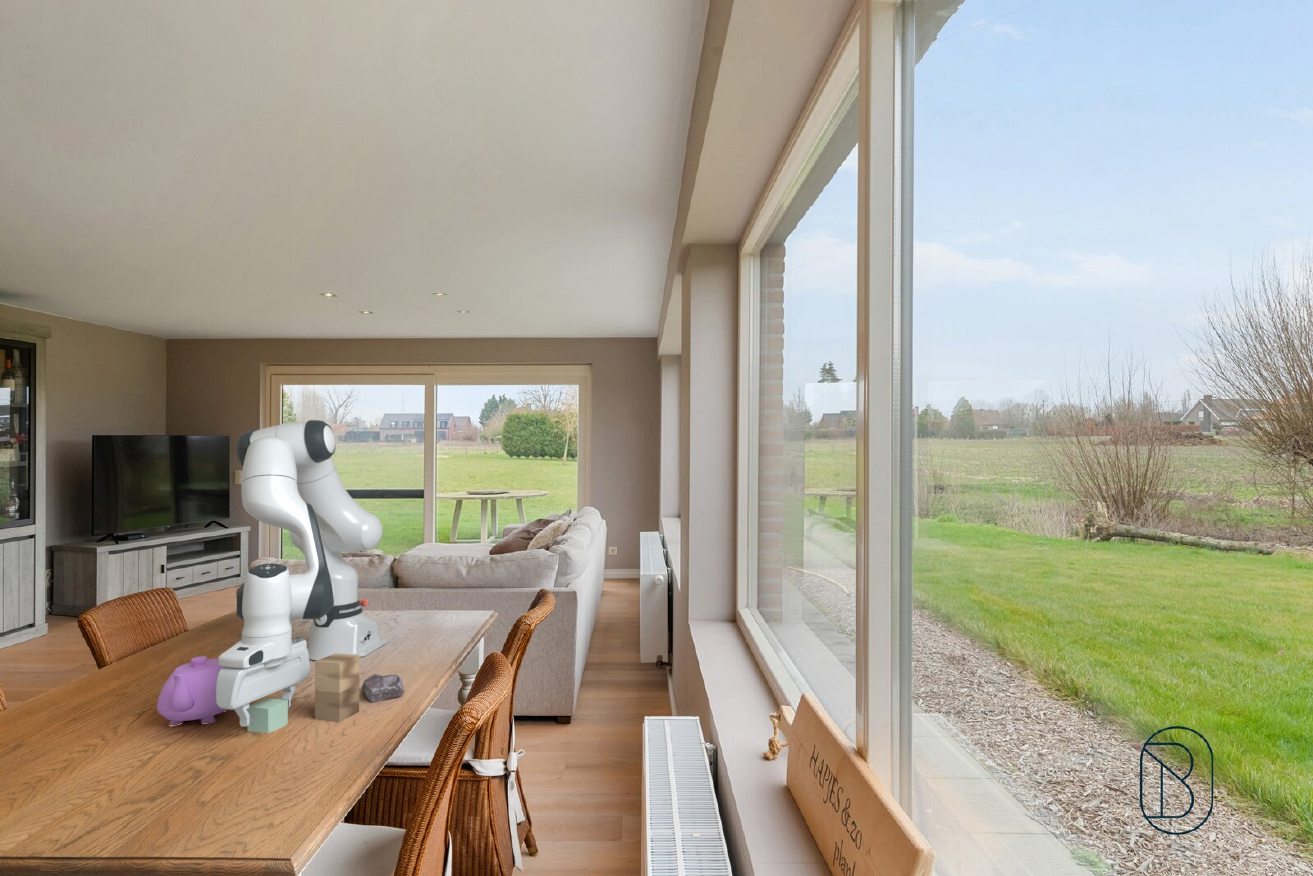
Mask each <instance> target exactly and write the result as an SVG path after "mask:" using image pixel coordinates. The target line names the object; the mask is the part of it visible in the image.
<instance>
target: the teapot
mask: <svg viewBox="0 0 1313 876" xmlns="http://www.w3.org/2000/svg"><path fill="white" fill-rule="evenodd" d="M190 661H191V662H188V663H185V664H182V665H179V666H177V667H176V668H174V670H173V671H172V672H171V673H170V675H169V677H168V679H166V682H165V683H164V685H163V686H162V688H161V689H160V693H159V695H158V699H157V704H156V710H157V712H158V713H159V715H161V716H162V717H163V718H165V719H166V720H169V721H170V722H169V723H168V724H169V725H177V724H180V723H182V724H183V723H184V722H185V721H186V722H187V721H194V720H195V721H196V720H200V724H201V723H211V722H214V721H215V722H216V719H215V716H216V715H219V714H223V713H222V712H224V711H226V710H228V709H222V708H220V707H219V706H218V705H217V703H216V685H217V677H218V673H219V671H220V670H221V669H222V668H223V667H224V666H219V664H218V659H217V658H209V659H208V656H202V655H201V656H195V657H192V658H191V659H190ZM226 712H227V711H226ZM224 713H225V712H224ZM215 722H214V723H215ZM211 724H212V723H211Z"/></svg>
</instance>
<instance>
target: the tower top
mask: <svg viewBox="0 0 1313 876" xmlns="http://www.w3.org/2000/svg"><path fill="white" fill-rule="evenodd" d="M314 661H315V662H314V692H315V691H325V692H335V693H341V692H343V691H345V690H347V689H349V688H351V687H353V686H355V685H357V684H359V685H360V657H359V655H351V654H339V653H335V654H332V655H330V656H327V657H325V658H322V659H320V660H314Z"/></svg>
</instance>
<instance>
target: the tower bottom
mask: <svg viewBox="0 0 1313 876" xmlns="http://www.w3.org/2000/svg"><path fill="white" fill-rule="evenodd" d="M358 713H360V683H359V684H357V685H355V686H353V687H351V688H349V689H347V690H345V691H343V692H341V693H335V692H325V691H315V690H314V720H315V719H319V720H318V721H322V720H325V721H324V722H331V721H332V722H333V723H342V722H343V721H345V720H347V719H348V718H351V717H353V716H354V715H355V714H358ZM344 719H345V720H344ZM332 722H331V723H332Z"/></svg>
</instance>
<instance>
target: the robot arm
mask: <svg viewBox="0 0 1313 876" xmlns="http://www.w3.org/2000/svg"><path fill="white" fill-rule="evenodd" d="M335 451H336V436H335V434H334V430H333V429H332V427H331V426H330V425H329V424H328V423H327V422H325V421H324V420H317V419H313V420H312V419H310V420H307V421H292V422H285V423H281V424H277V425H272V426H267V427H263V428H260V429H257V428H256V429H255V428H254V429H252V430H249V431H246V432H244V433H241V435H240V436H239V438H238V439H237V441H236V443H235V455H236V459H237V461H238V463H239V465H240V467H241V468H242V471H241V473H242V474H241V485H240V486H241V488H240V489H241V501H242V502H241V503H242V506H243V508H244V510H245V511H246V513H247V514H249V516H251V517H252V519H253V518H254V519H255V520H257V521H259V522H261V523H263V524H264V525H265V524H266V525H270V526H273V527H277V528H280V529H283V530H286V531H289V537H290V540H291V542H292V545H293V546H295V547H296V548H297V549H298V550H300V552H301V553H302V554H303V556H304V559H305V563H306V571H305V572H303V573H294V574H290V571H289V567H287V566H286V565H284V564H281V563H263V564H258V565H255V566H252V567H250V568H249V569H248V570H247V571H246V574H245V579H244V582H243V583H242V584H241V585H240V586H239V587H238V588H237V589H236V592H235V593H236V594H235V596H236V612H235V613H236V614H235V616H236V617H238V618H239V619H240V620H242V621H243V627H242V630H241V639H240V640H239V641H237V642H236V643H234V645H233V646H231V647H230V648H228V649H227V650H226V651H224V652H223V653H221V654H220V655H219V656H218V664H219V666H224V667H223V668H222V669H221V670H220V671H219V673H218V677H217V685H216V703H217V705H218V706H219V707H220V708H222V709H227V710H234V712H235V713H236V715H237V716H238V717H239V726H240V727H246V728H247V726H248V725H250V724H253V715H249V713H248V708H249V706H250V703H253V702H255V701H257V700H260V699H262V698H265V697H267V696H270V695H271V694H274V693H276V692H277V693H278V692H280V691H281V690H283V692H282V695H281V698H280V699H283V700H288V708H290V707H291V705H292V704H291V701H292V697H293V695H294V694H295V691H296V685H297V684H299V683H301V682H304V681H306V680H308V678H309V676H310V673H311V665H310V664H311V663H310V661H311V660H312V661H317V660H320V659H322V658H325V657H327V656H330V655H332V654H335V653H339V654H351V655H359V658H360V657H365V656H368V655H369V654H371V653H373V652H374V651H376V650H378V649H379V648H380V647H383V646H384V645H386V644H387V643H389V639H388V638H386V637H383V636H380V629H379V624H378V623H377V621H376V620H375V619H373V618H371V617H369V616H368V615H367V614H366V613H364V612H363V608H362V607H368V606H369V600H368V598H367V599H366V598H365V599H363V598H361V599H359V574H358V572H357V570H356V569H355V568H354V567H353V566H352V565H350V564H348V563H347V561H346V560H345V558H344V555H343V554H342V553H343V552H345V553H359V552H364V551H369V550H373V549H375V548H376V547H377V546H378V545H379V544H380V542H381V540H382V537H383V535H384V534H383V532H384V528H383V523H382V521H381V519H380V518H379V517H378V516H377V515H375V514H373V513H371V512H369V511H368V510H366V509H365V508H363V507H362V506H361V505H360V504H359V503H358V502H356V500H355V499H354V498H353V497H352V496H351V495H350V494H349V492H348V491H347V489H346V488H345V486H344V484H343V482H342V480H341V477H340V474H339V473H338V469H337V467H336V465H335V462H334V460H333V455H334V454H335ZM293 620H312V621H311V624H310V628H309V629H310V630H309V636H308V637H309V639H308V642H307V640H306V639H305V638H304V637H302V636H295V637H294V638H292V637H293V636H292V635H293V626H292V623H291V621H293ZM307 644H308V645H307Z"/></svg>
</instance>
